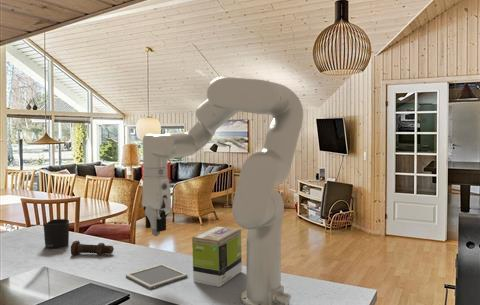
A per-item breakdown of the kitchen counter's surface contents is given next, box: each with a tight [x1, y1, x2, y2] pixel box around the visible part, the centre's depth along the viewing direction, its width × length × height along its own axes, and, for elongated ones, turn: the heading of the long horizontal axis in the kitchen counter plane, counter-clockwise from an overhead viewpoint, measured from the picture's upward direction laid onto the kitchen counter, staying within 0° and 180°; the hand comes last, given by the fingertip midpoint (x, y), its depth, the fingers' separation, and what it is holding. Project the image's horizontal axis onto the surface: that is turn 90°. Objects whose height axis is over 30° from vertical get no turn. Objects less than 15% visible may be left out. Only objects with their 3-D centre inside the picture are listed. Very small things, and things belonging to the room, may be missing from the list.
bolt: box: [70, 240, 114, 257], centre depth 151 cm, size 6×5×15 cm
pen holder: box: [43, 218, 70, 250], centre depth 162 cm, size 9×9×10 cm
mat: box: [125, 263, 188, 290], centre depth 129 cm, size 14×14×1 cm
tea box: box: [191, 225, 243, 288], centre depth 128 cm, size 15×10×15 cm, turn 152°
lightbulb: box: [146, 206, 163, 237], centre depth 127 cm, size 6×6×11 cm
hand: (155, 228), depth 128 cm, fingers closed on lightbulb, 5 cm apart
